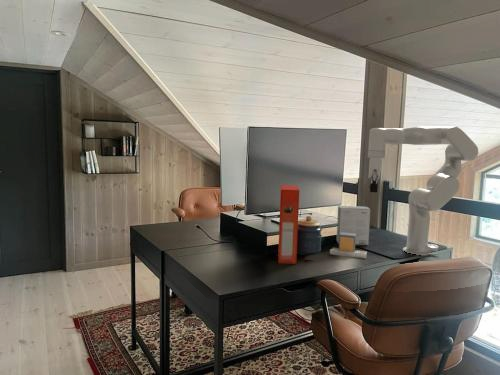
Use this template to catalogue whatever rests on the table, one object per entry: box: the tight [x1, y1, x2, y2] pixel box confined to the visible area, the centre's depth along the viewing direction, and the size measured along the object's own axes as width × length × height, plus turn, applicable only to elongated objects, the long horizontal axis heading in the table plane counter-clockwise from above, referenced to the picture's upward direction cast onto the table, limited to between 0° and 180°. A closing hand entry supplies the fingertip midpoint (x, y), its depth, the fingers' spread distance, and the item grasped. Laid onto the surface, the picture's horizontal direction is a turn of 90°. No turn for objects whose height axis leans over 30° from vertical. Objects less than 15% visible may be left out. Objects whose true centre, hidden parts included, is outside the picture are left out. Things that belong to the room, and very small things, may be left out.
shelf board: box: [329, 247, 368, 259], centre depth 183 cm, size 16×12×4 cm
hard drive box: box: [336, 205, 372, 246], centre depth 202 cm, size 16×8×20 cm, turn 84°
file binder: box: [277, 184, 300, 265], centre depth 176 cm, size 8×17×32 cm, turn 176°
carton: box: [338, 232, 356, 252], centre depth 183 cm, size 5×7×9 cm
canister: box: [297, 215, 323, 256], centre depth 187 cm, size 13×13×18 cm
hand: (373, 191), depth 186 cm, fingers open, 9 cm apart
